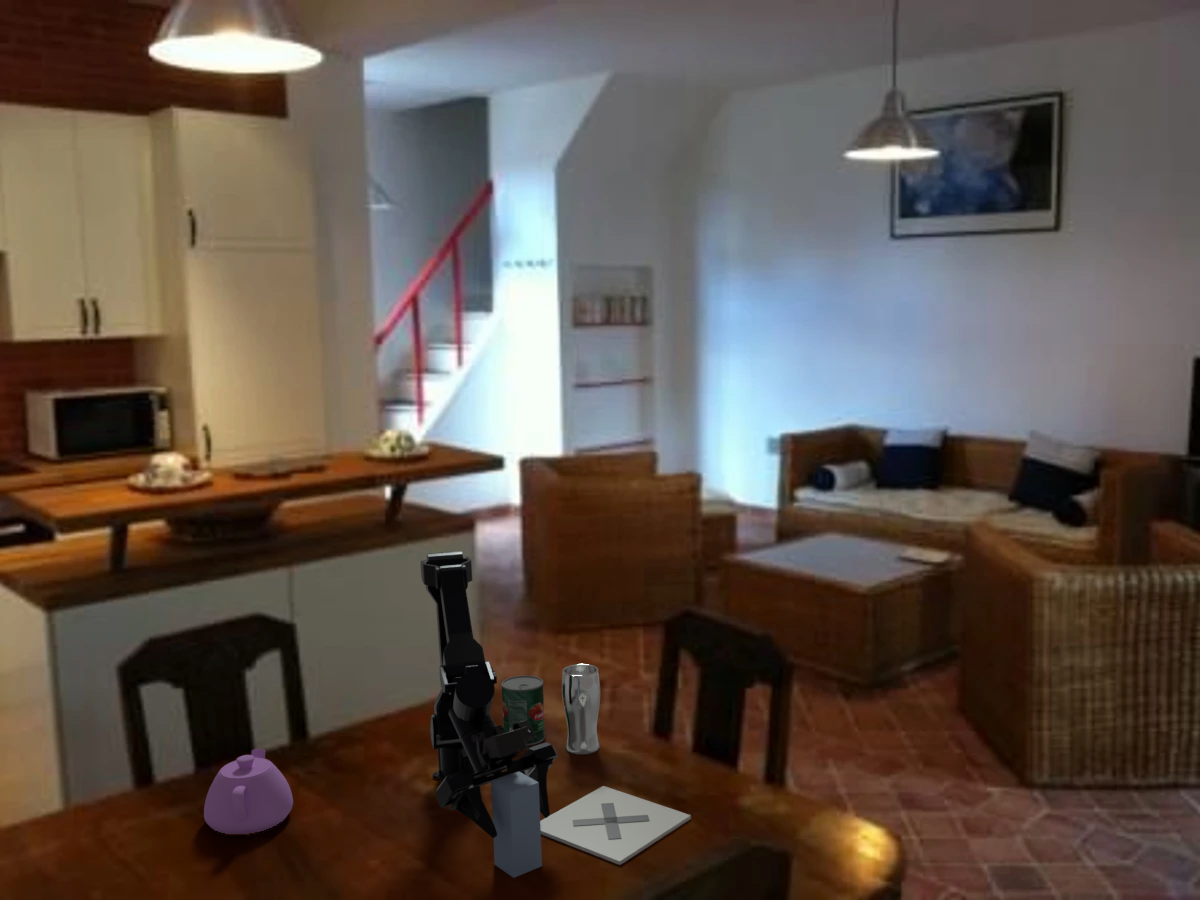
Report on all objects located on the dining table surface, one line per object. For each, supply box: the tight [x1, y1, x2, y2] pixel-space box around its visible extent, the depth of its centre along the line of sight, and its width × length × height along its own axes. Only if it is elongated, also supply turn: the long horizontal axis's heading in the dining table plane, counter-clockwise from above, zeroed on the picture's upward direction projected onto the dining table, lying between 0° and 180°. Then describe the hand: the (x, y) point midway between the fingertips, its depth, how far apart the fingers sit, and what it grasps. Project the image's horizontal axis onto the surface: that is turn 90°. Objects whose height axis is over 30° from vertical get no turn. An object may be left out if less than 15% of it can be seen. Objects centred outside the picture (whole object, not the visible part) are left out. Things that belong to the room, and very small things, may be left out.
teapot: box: [203, 748, 294, 834], centre depth 182 cm, size 14×20×11 cm
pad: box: [540, 785, 692, 866], centre depth 177 cm, size 18×18×1 cm
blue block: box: [490, 772, 543, 878], centre depth 164 cm, size 5×5×13 cm
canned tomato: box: [500, 675, 546, 747], centre depth 211 cm, size 8×8×11 cm
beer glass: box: [561, 663, 601, 755], centre depth 206 cm, size 7×7×15 cm
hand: (521, 826), depth 163 cm, fingers open, 9 cm apart
